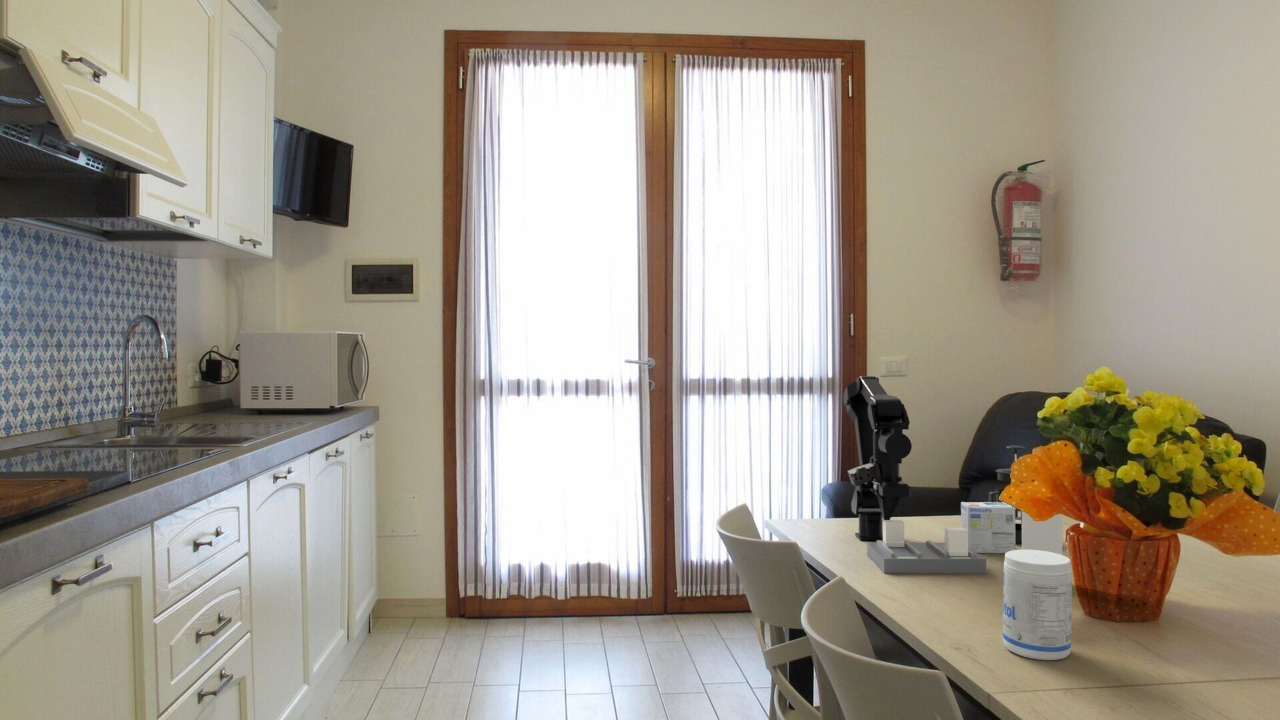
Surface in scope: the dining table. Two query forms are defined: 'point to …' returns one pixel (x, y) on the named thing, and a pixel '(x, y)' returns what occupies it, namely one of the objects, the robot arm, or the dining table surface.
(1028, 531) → the off-white cardboard box
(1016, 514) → the french press
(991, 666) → the dining table surface
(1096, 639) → the dining table surface
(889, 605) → the dining table surface
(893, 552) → the breaker panel
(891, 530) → the white block
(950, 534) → the tall cream cuboid
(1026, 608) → the supplement tub
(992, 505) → the light bulb box
